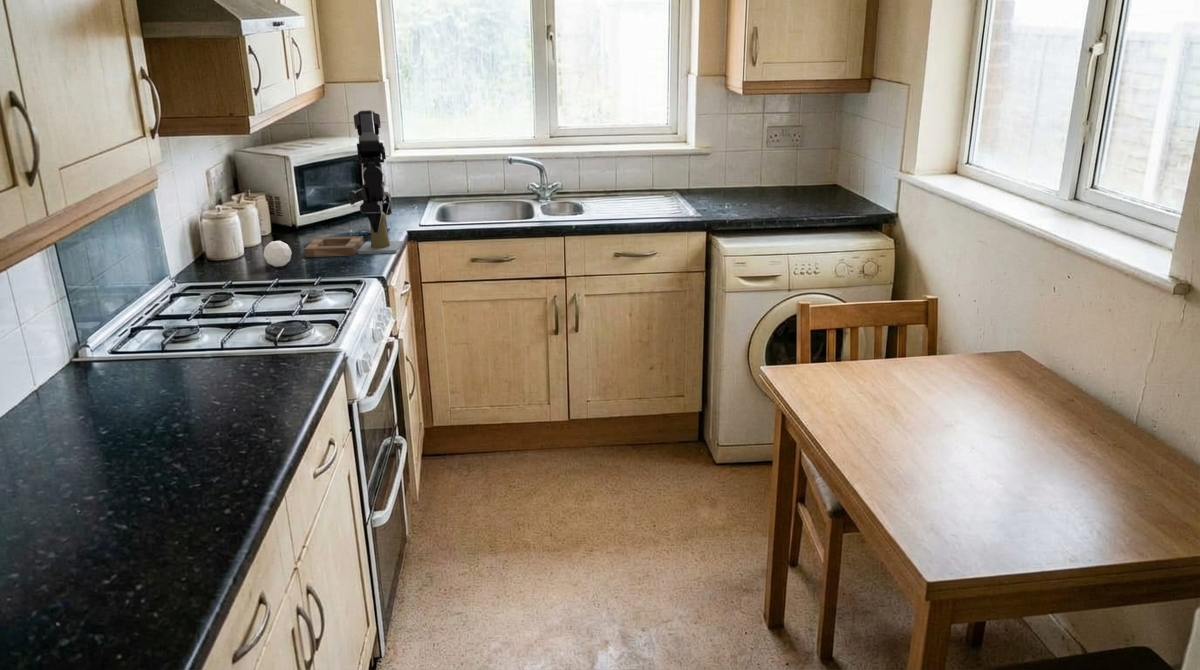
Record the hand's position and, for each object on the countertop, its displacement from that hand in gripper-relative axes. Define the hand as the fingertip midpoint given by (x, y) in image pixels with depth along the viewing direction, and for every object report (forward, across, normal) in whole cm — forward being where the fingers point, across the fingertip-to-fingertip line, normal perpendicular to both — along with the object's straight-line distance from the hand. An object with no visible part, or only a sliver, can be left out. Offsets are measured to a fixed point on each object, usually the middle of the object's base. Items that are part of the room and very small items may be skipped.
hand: (378, 229), depth 271 cm
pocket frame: (+6, 0, -14) cm, 16 cm away
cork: (+6, 0, 0) cm, 6 cm away
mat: (+6, 0, 0) cm, 6 cm away
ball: (+7, +17, -27) cm, 33 cm away
